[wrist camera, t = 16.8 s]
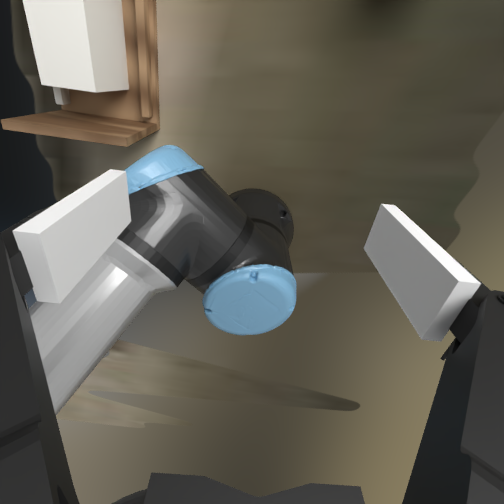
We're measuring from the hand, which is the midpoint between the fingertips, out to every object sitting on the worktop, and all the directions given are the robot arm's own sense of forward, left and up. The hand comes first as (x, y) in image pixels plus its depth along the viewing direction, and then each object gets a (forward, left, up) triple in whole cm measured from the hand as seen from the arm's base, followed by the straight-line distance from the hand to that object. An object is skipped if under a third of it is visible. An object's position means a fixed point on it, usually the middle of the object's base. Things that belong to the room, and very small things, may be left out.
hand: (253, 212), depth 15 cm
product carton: (+8, +22, -33) cm, 40 cm away
